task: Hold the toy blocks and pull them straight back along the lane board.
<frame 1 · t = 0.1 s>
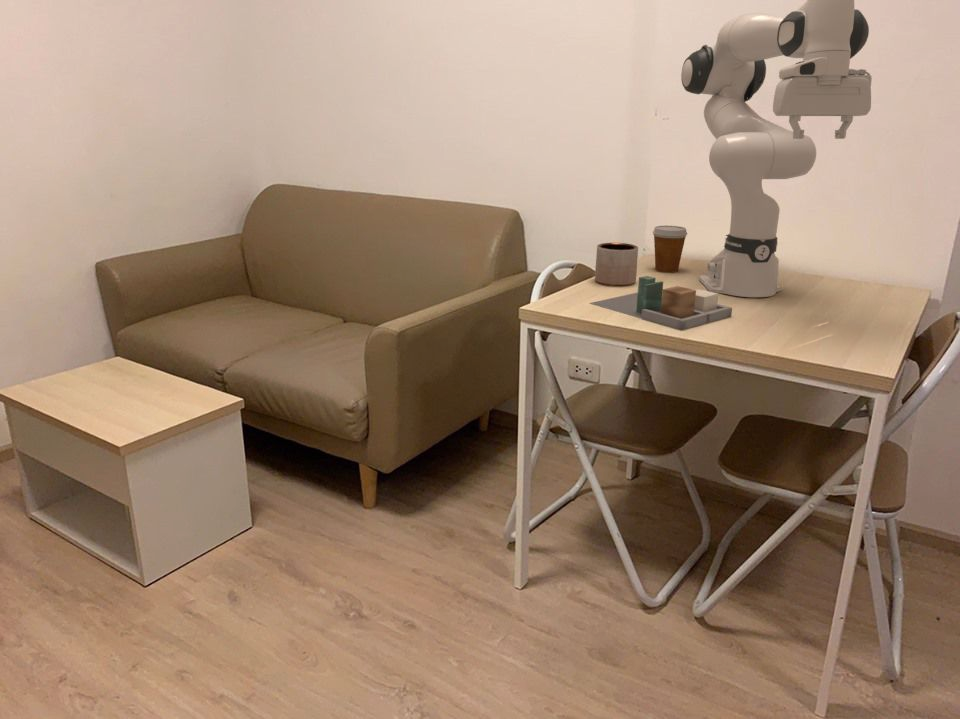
hand: (819, 138, 161), 39 cm above the table, tool pointing down, fingers open, 8 cm apart
cream block: (699, 314, 173), resting on lane board
lane board: (666, 314, 175), on the table
disposable coffee cup: (666, 270, 218), on the table
planter: (615, 282, 205), on the table
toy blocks: (676, 320, 168), resting on lane board
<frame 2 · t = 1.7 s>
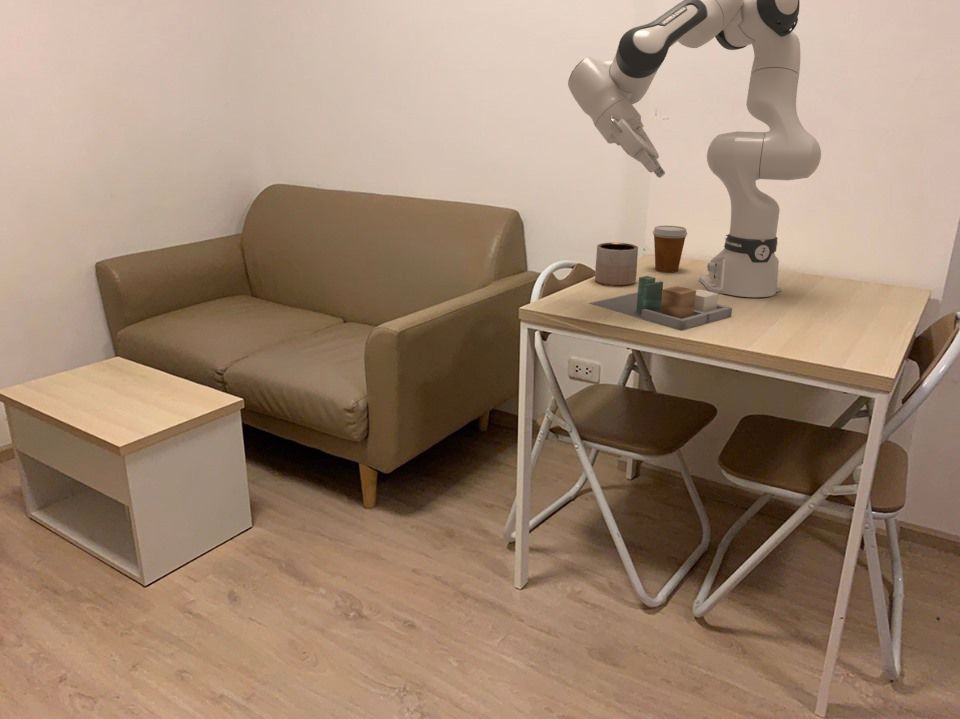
hand: (657, 173, 165), 31 cm above the table, tool tilted 45°, fingers open, 8 cm apart
nothing on the table moved.
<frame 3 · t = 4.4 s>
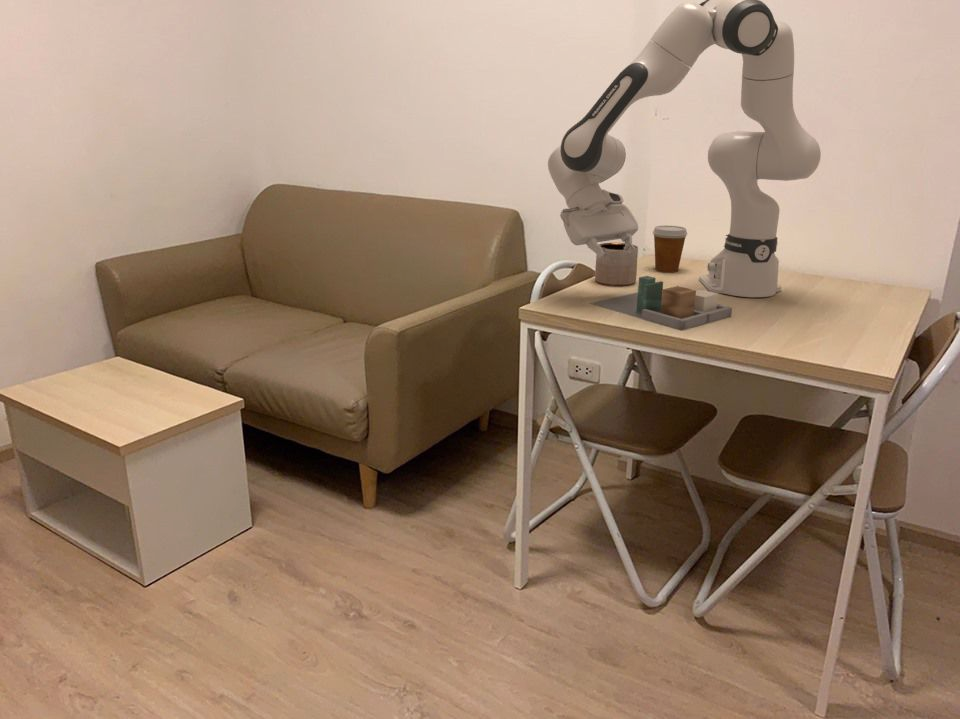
hand: (617, 253, 178), 12 cm above the table, tool tilted 45°, fingers open, 8 cm apart
nothing on the table moved.
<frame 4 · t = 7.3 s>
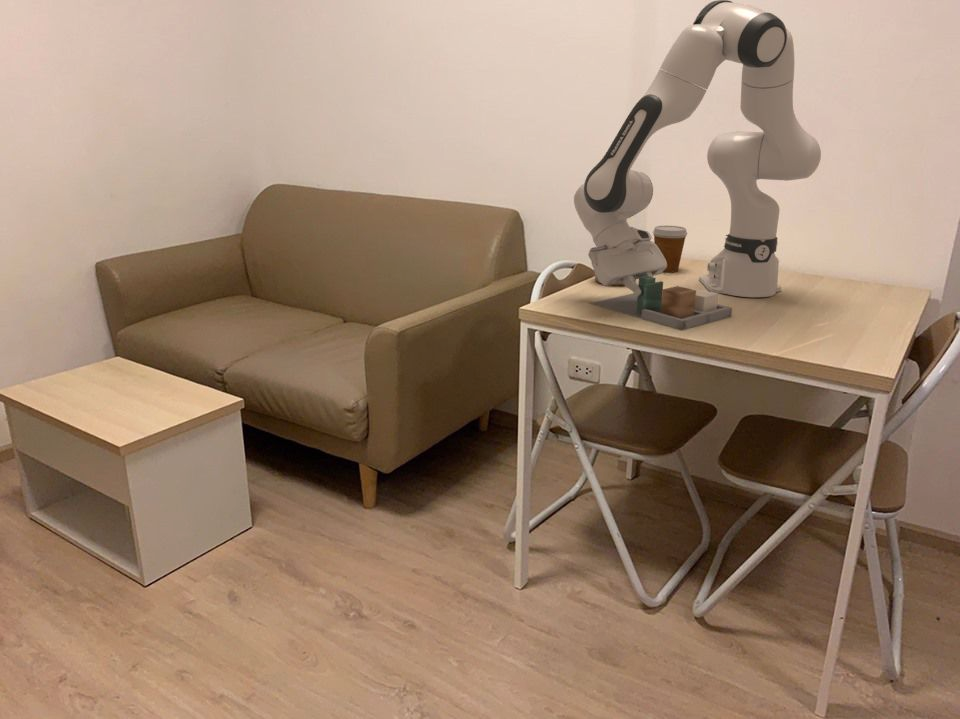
hand: (646, 293, 173), 5 cm above the table, tool tilted 45°, fingers closed on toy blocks, 3 cm apart
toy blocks: (676, 320, 168), resting on lane board, touching gripper
everything else where it was.
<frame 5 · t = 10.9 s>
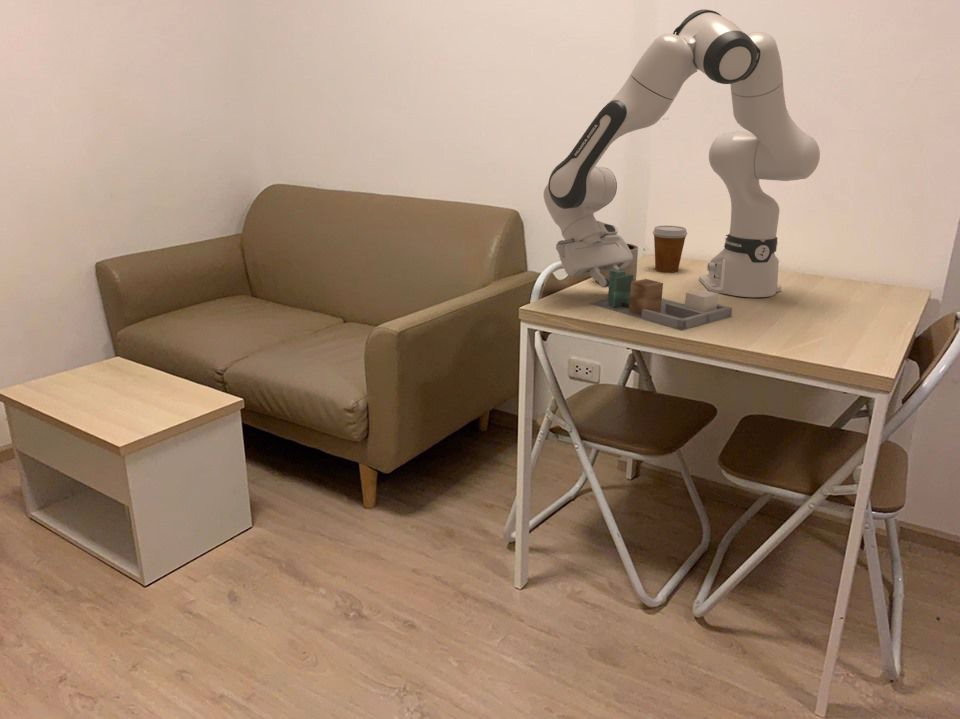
hand: (612, 284, 181), 5 cm above the table, tool tilted 45°, fingers closed on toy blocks, 3 cm apart
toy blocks: (644, 312, 174), point 1 cm above the table, touching gripper, lane board
everything else where it was.
when the fingers open (5 cm above the table, at t = 11.9 s): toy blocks stays where it is, resting on lane board.
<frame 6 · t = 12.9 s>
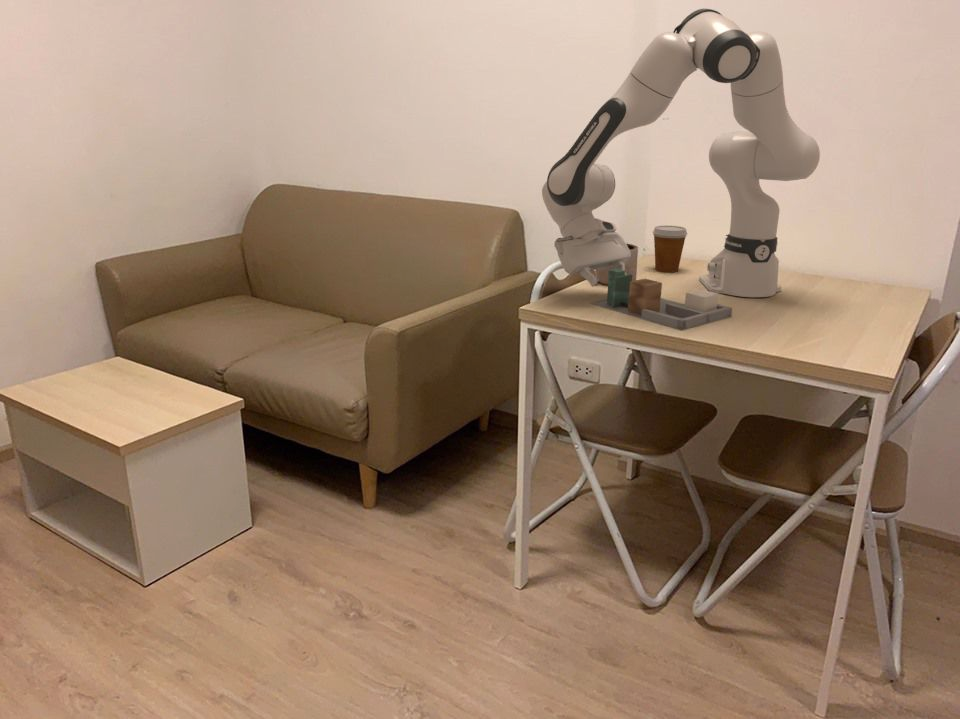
hand: (610, 282, 181), 5 cm above the table, tool tilted 45°, fingers open, 8 cm apart
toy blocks: (643, 312, 175), resting on lane board
everything else where it was.
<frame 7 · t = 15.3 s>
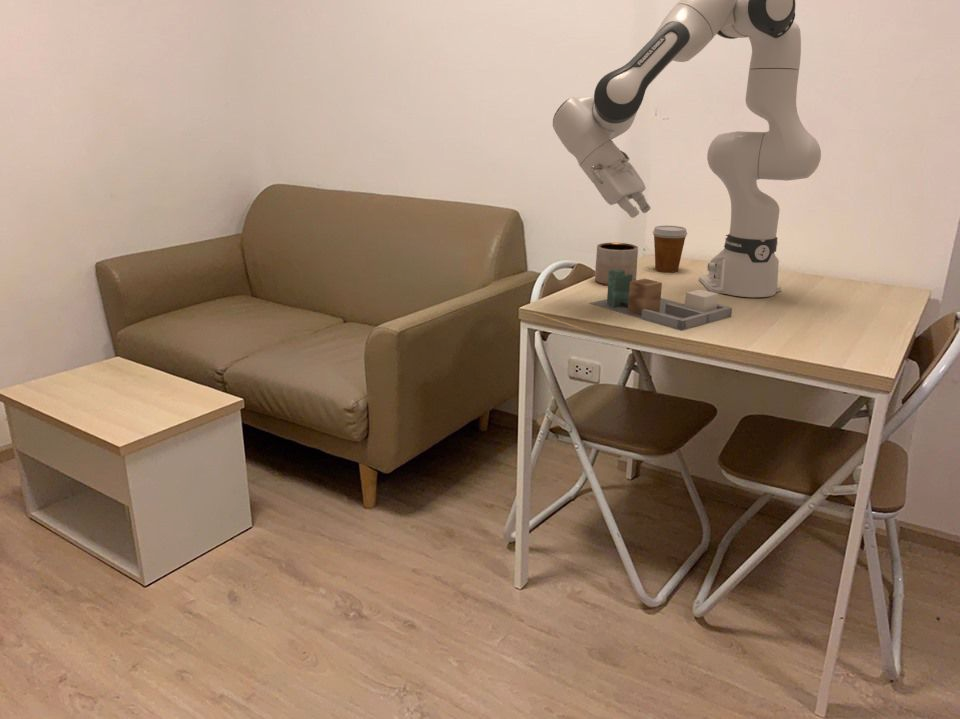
hand: (642, 213, 169), 22 cm above the table, tool tilted 45°, fingers open, 8 cm apart
nothing on the table moved.
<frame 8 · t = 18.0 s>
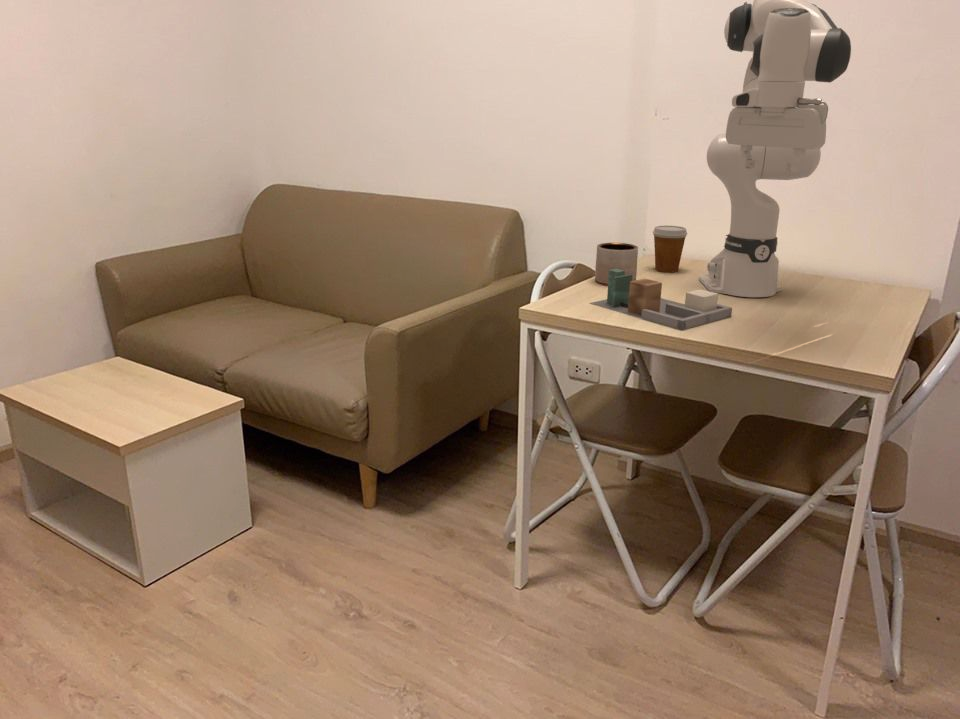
hand: (769, 170, 155), 33 cm above the table, tool pointing down, fingers open, 8 cm apart
nothing on the table moved.
at the end: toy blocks moved 9.0 cm from its start; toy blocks inside the target area (2.6 cm from its centre), point 0.5 cm above the table; the gripper is holding nothing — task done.
